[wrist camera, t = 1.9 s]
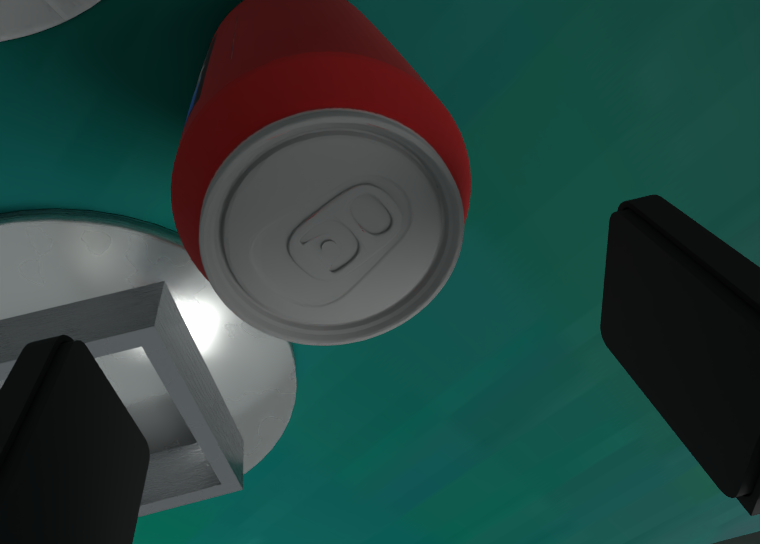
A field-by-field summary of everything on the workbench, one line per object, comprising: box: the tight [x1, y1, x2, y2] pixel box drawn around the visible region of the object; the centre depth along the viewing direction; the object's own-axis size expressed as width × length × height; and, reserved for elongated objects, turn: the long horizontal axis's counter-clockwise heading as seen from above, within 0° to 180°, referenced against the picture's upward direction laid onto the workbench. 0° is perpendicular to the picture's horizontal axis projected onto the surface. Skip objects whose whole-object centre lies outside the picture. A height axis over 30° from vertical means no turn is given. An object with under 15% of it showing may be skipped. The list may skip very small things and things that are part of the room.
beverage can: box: [171, 0, 471, 346], centre depth 16 cm, size 7×7×12 cm
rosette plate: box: [0, 209, 297, 517], centre depth 25 cm, size 19×19×4 cm
